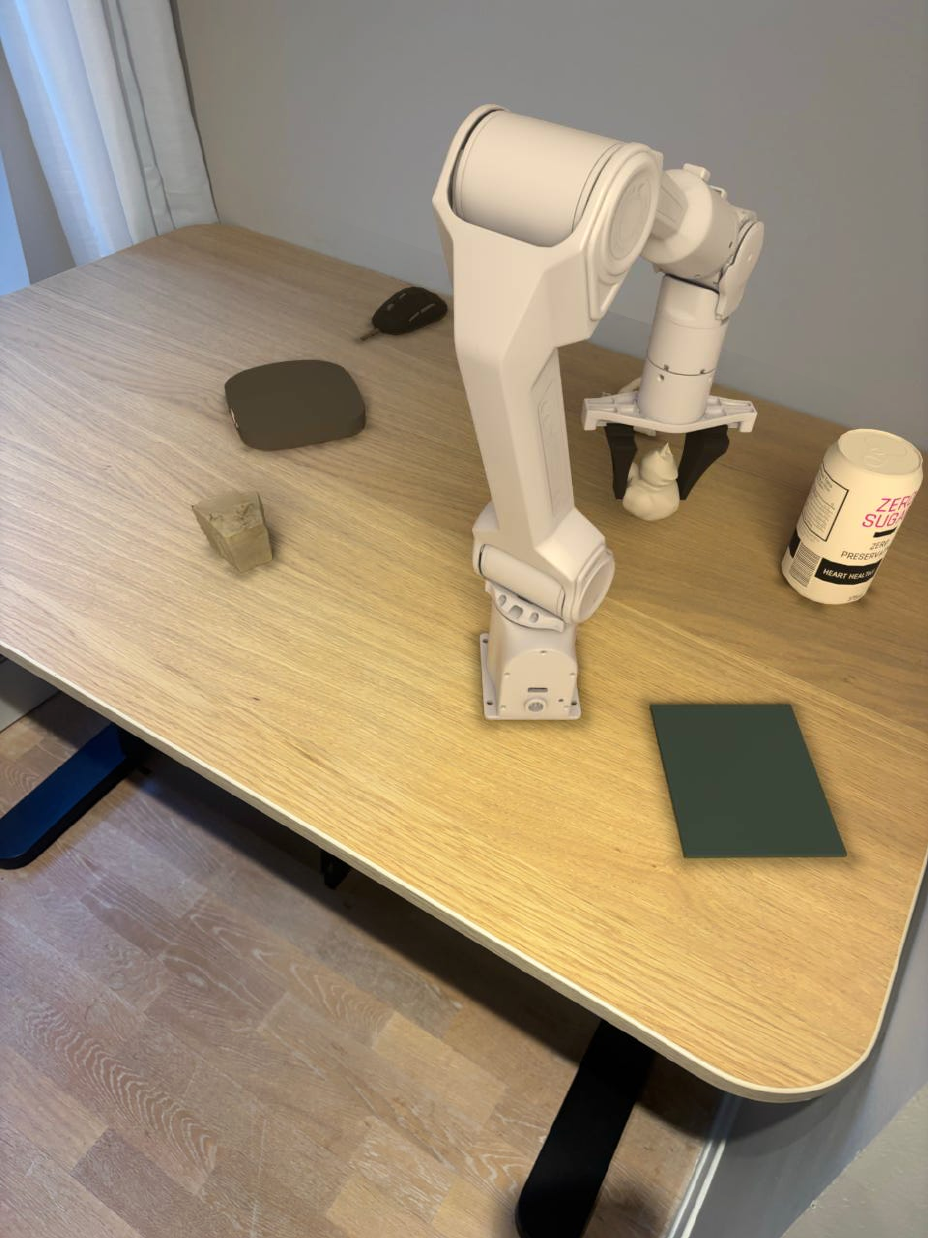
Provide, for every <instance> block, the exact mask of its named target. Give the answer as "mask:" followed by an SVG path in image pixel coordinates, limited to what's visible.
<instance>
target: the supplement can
mask: <svg viewBox="0 0 928 1238" xmlns="http://www.w3.org/2000/svg"><path fill="white" fill-rule="evenodd" d="M923 462H924V458H923V456H922V454H921V452H920V450H919V449H917V447H916V446H914V444H913V443H911V442H910V441H908V440H907V439H905V438H903V437H901V436H899V435H897V434H894V433H891V432H888V431H885V430H880V429H875V428H857V429H856V428H855V429H851V430H848V431H846V432H845V433H843V434H841V435H840V437H839V439H837V440H836V441H835V442H833V443H832V444H831V445H829V446H828V447H827V449H826V452H825V454H824V456H823V459H822V461H821V464H820V465H819V469H818V471H817V474H816V476H815V478H814V481H813V484H812V486H811V488H810V490H809V494H808V496H807V498H806V500H805V503H804V506H803V508H802V511H801V514H800V516H799V518H798V520H797V524H796V526H795V528H794V531H793V533H792V536H791V539H790V541H789V542H788V543H789V544H788V545H787V548H786V551H785V553H784V556H783V558H782V561H781V563H780V565H781V572H782V574H783V576H784V578H785V579H786V581H787V582H788V584H789V586H790V587H791V588H792V589H794V591H796V592H797V593H798V594H799V595H801V596H802V597H805V598H807V599H808V600H810V601H813V602H815V603H816V602H817V603H821V604H824V605H843V604H844V605H845V604H848V603H853V602H856V601H858V600H859V599H861V598H862V597H864V596H865V595H866V593H867V592H868V589H869V588H870V585H871V584H872V582H873V581H874V578H875V576H876V574H877V572H878V570H879V568H880V566H881V565H882V563H883V560H884V558H885V556H886V554H887V552H888V550H889V548H890V546H891V544H892V542H893V541H894V538H895V537H896V535H897V533H898V531H899V528H900V527H901V525H902V524H903V523H902V522H904V519H905V517H906V515H907V513H908V511H909V509H910V507H911V505H912V503H913V501H914V499H915V497H916V495H917V493H918V491H919V490H920V488H921V486H922V483H923V479H924V473H923Z"/></svg>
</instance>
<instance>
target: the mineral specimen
mask: <svg viewBox="0 0 928 1238" xmlns="http://www.w3.org/2000/svg"><path fill="white" fill-rule="evenodd" d="M190 506H191V511H192V513H193V514H194V517H195V519H196V521H197V523H198V524H199V526H200V529H201V531H202V533H203V534H204V536H205V538H206V540H207V541H208V544H209V546H210V547H211V548H212V549H214V550H215V551H216V552H218V553H219V554H220V555H221V556H222V557H223V558H224V560H226V561H227V562H228V563H229V564H231V565H232V566H233V567H234V569H236V570H237V571H238V572H239V573H242V574H243V573H245V572H248V571H250V570H253V569H254V568H256V567H259V566H261V565H263V564H267V563H270V562H271V561H272V560H273V554H272V553H273V548H272V544H271V540H270V536H269V532H268V529H267V521H266V515H265V509H264V506H263V502H262V499H261V496H260V493H259V491H258V490H248V491H244V492H243V493H240V492H238V491H237V490H235V489H233V490H229V491H225V492H223V493H221V494H217V495H215V496H212V497H209V498H206V499H204V500H200V501H198V503H196V504H193V505H190Z"/></svg>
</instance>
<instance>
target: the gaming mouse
mask: <svg viewBox="0 0 928 1238" xmlns="http://www.w3.org/2000/svg"><path fill="white" fill-rule="evenodd" d="M447 312H448V304H447V303H446V301H445V300H444V299H443V298H441V297H440V295H438V294H437V293H435V292H433V291H430V290H429V289H426V288H425V287H420V286H414V285H413V286H409V287H404V288H403V289H401V290H399V291H396V292H395V293H394V294H393V295H392V296H390V297H389V298H388V299H387V300H385V301H384V302H383V303H382V304H381V305H380V306H379V307H378V308H377V309H376V310H375V313H374V314H373V316H372V317H371V324H372V326H373V327H374V329H371V330H370V331H369V332H368V333H366V334H365V335H363V336H361V337H360V340H361V341H363V340H366V339H368V338H369V337H371V336H374V335H376V334H378V333H380V332H381V333H385V334H389V335H393V336H396V335H405V334H407V333H409V332H413V331H415V330H417V329H420V328H422V327H425V326H427V325H430V324H433V323H435V322H437V321H439V320H440V319H441V318H443V317H444V316H445V315H446V314H447Z"/></svg>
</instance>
